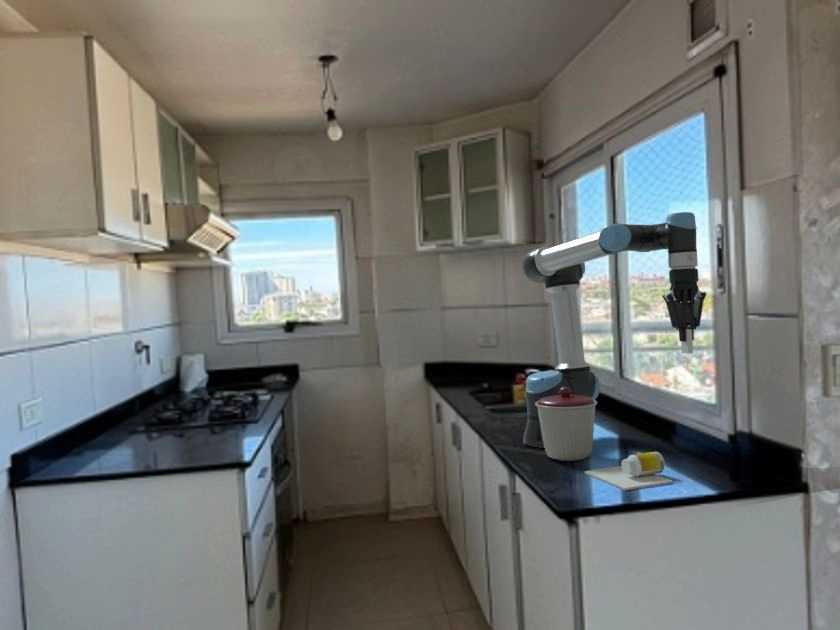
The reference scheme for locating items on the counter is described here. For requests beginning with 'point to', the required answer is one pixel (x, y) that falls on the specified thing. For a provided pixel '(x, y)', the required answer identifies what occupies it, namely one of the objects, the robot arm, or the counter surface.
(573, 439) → the canister
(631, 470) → the supplement bottle
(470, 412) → the counter surface
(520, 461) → the counter surface
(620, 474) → the mat
